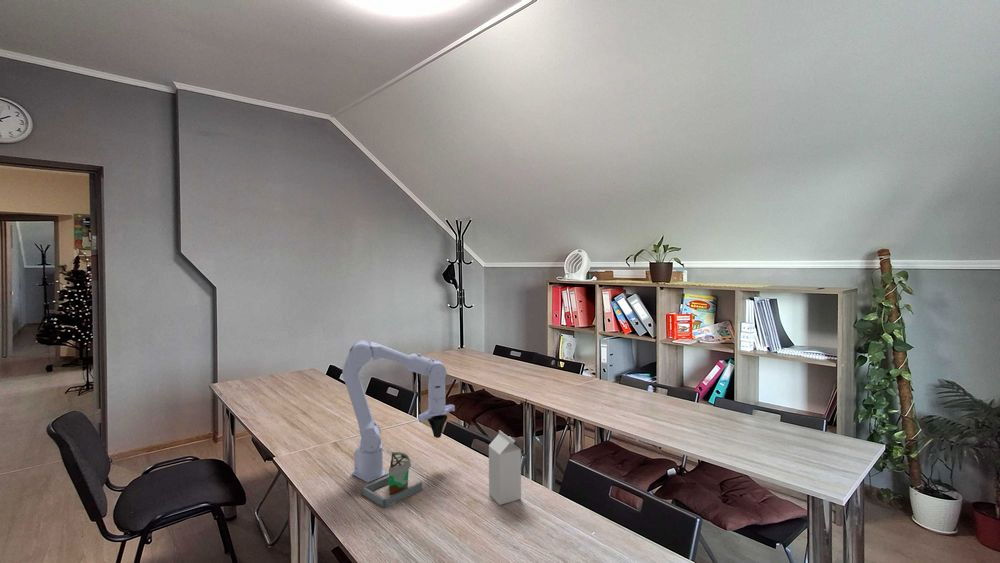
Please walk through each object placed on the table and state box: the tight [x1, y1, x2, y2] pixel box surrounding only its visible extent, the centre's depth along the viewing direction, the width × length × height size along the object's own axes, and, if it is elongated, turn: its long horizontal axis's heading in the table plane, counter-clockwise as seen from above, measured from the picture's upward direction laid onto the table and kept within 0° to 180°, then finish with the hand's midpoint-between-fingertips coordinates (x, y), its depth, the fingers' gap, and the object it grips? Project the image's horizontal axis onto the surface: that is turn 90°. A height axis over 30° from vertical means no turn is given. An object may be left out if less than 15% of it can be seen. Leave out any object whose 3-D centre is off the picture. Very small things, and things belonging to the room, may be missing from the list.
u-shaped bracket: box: [361, 475, 423, 508], centre depth 139 cm, size 12×14×2 cm
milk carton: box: [488, 429, 522, 506], centre depth 135 cm, size 7×7×19 cm
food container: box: [388, 451, 412, 497], centre depth 139 cm, size 12×6×10 cm, turn 9°
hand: (437, 436), depth 154 cm, fingers closed
